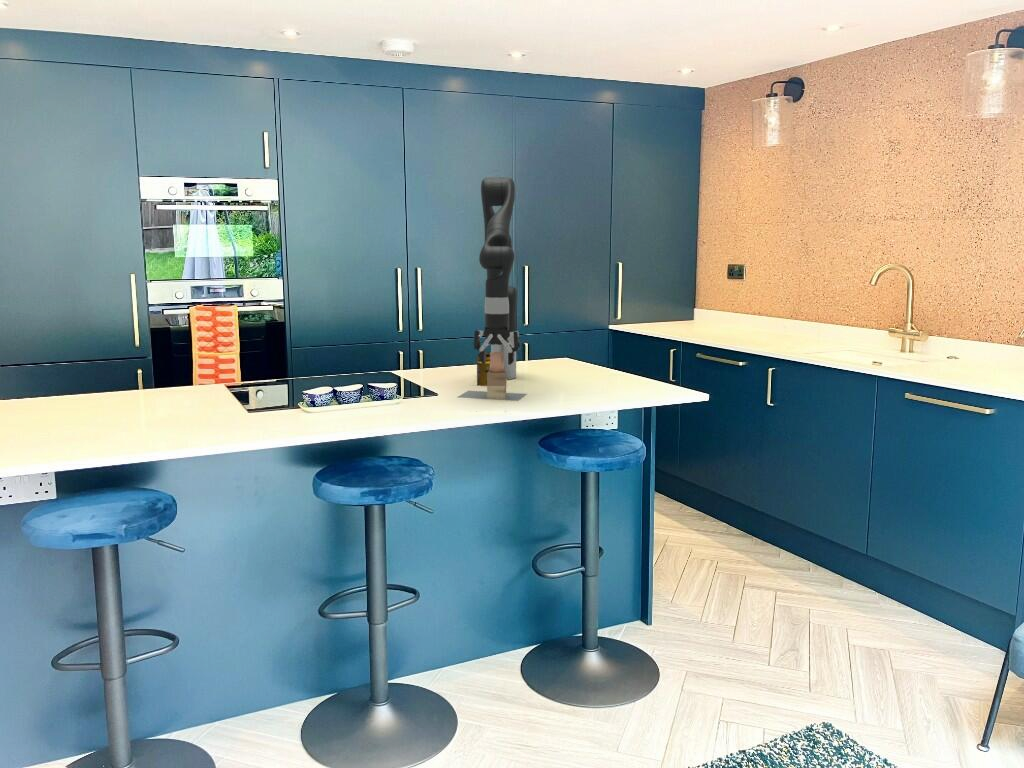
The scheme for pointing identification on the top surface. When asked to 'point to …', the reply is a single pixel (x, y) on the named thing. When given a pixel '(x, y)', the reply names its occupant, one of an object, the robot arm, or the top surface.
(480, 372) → the condiment
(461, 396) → the board
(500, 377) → the block top
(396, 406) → the top surface
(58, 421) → the top surface
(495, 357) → the pink cylinder
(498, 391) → the block base
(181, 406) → the top surface
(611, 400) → the top surface
